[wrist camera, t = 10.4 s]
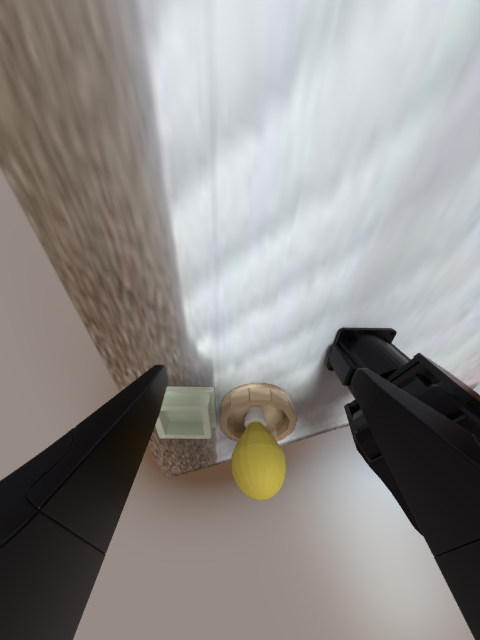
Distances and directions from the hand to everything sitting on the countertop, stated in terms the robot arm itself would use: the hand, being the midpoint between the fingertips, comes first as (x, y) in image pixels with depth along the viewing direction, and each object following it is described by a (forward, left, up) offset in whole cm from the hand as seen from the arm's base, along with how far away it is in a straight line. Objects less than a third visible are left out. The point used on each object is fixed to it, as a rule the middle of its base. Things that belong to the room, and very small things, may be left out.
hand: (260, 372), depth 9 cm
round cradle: (-2, +20, -12) cm, 23 cm away
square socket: (+9, +20, -12) cm, 25 cm away
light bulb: (-2, +20, -11) cm, 23 cm away
